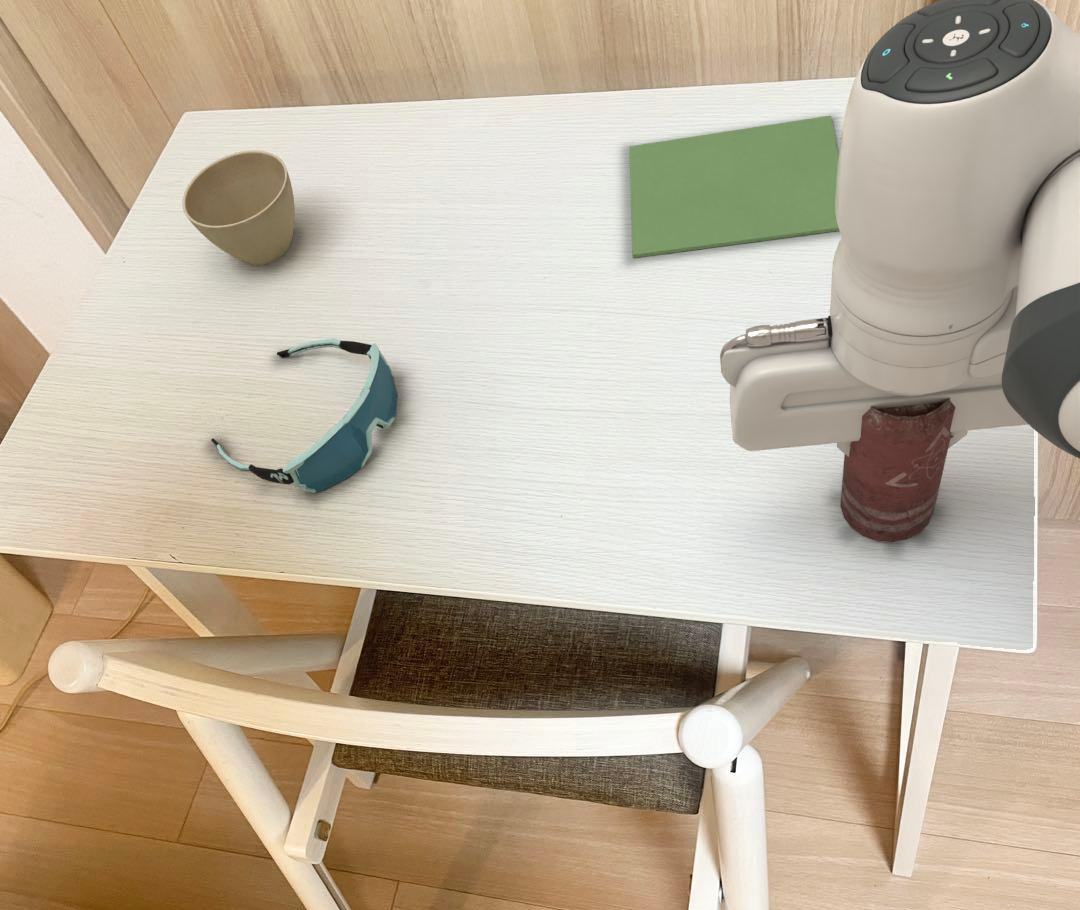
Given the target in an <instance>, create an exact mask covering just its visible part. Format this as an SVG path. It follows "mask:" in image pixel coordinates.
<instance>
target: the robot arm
mask: <svg viewBox="0 0 1080 910" xmlns="http://www.w3.org/2000/svg"><path fill="white" fill-rule="evenodd" d="M843 117H844V118H843V123H842V128H841V134H840V141H839V142H840V143H839V149H838V150H839V151H838V156H839V158H838V168H837V180H836V196H835V214H836V219H837V224H838V227H839V230H840V231H839V233H840V235H841V238H840V240H839V242H838V244H837V247H836V249H835V252H834V255H833V260H832V267H831V281H830V298H829V299H830V300H829V301H830V302H829V303H830V304H829V315H828V316H827V317H820V318H819V317H818V318H812V319H811V318H810V319H804V320H802V319H801V320H798V321H793V322H789V323H784V324H779V325H778V324H776V325H770V324H761V325H760V324H759V325H755V326H751V327H749V328H746V329H745V333H744V334H741V335H739V336H735V337H734V338H732V339H731V340H729V341H727V342H724V344H723V345H722V348H721V351H720V354H719V362H720V373H721V376H722V377H723V379H724V381H726V383H727V384H729V410H730V412H729V413H730V425H731V434H732V440H733V443H735V444H736V445H737V446H738V447H740V448H742V449H743V450H746V451H748V452H757V451H759V452H760V451H769V450H779V449H789V448H790V449H791V448H798V447H810V446H820V445H831V444H836V448H837V449H838V450H839V451H840V452H842V453H843V455H845V454H846V455H847V456H848V457H849V453H850V448H851V447H850V445H851V442H852V441H859V439H860V437H861V424H862V416H863V415H864V414H865V413H866V412H867V411H868V410H869V409H870V408H871V406H873V407H875V408H876V409H880V408H890V407H900V406H910V405H920V404H930V403H939V402H946V401H947V400H948V399H949V398H950V401H951V402H952V404H953V405H954V406H955V411H954V415H953V420H952V424H951V429H950V432H952V434H951V438H950V443H949V447H948V450H949V449H950V448H952V447H953V446H954V445H956V444H957V443H958V442H959V441H961V440H962V439H964V438H965V437H966V436H967V435H968V431H975V430H976V431H977V430H986V429H988V430H989V429H997V428H1007V427H1017V426H1018V427H1019V426H1027V425H1028V426H1029V427H1031V428H1032V429H1033V430H1035V432H1037V433H1038V434H1039V435H1040V436H1041V437H1043V438H1044V439H1045V440H1046V441H1048V442H1050V443H1051V444H1052V445H1054V446H1055V447H1057V448H1059V450H1061V451H1064V452H1066V453H1067V454H1069V455H1071V456H1073V457H1075V458H1077V459H1079V460H1080V33H1079V32H1077V31H1076V30H1074V29H1072V28H1071V27H1070V26H1068V25H1067V24H1066V23H1065V22H1063V20H1062V19H1060V18H1059V16H1057V15H1056V13H1055V12H1054V11H1053V10H1052V9H1051V8H1050V7H1048V6H1046V4H1044V3H1042V2H1041V1H1039V0H938V1H935V2H933V3H930V4H927V5H925V6H923V7H921V8H920V9H917V10H915V11H914V12H912V13H910V14H909V15H906V17H903V18H902V19H901V20H900V21H898V22H897V23H896V24H894V25H893V26H892V27H891V28H889V29H888V31H886V32H884V34H883V35H882V36H881V37H880V38H879V39H878V41H877V42H876V43H875V44H874V45H873V46H872V48H871V49H870V51H869V52H868V53H867V55H866V57H865V59H864V61H863V62H862V63H861V65H860V67H859V69H858V72H857V74H856V76H855V78H854V81H853V83H852V87H851V90H850V92H849V95H848V99H847V104H846V109H845V113H844V116H843Z"/></svg>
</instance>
